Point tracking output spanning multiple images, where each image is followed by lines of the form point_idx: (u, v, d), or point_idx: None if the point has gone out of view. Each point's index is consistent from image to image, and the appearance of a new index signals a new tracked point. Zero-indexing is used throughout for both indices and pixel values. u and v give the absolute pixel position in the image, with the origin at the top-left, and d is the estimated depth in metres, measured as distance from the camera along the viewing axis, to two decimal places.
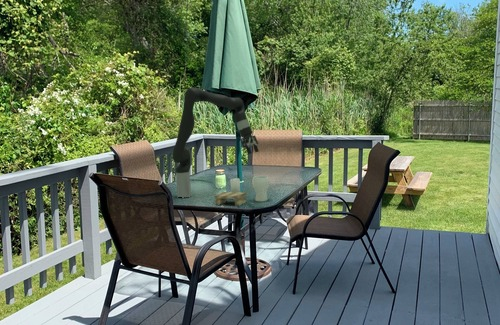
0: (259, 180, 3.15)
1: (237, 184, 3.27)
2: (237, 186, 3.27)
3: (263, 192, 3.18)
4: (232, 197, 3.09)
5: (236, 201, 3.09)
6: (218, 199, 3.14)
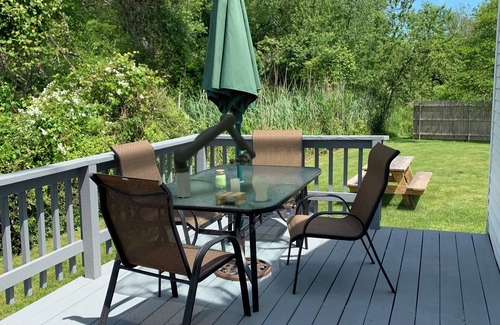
0: (259, 180, 3.15)
1: (237, 184, 3.27)
2: (237, 186, 3.27)
3: (263, 192, 3.18)
4: (232, 197, 3.09)
5: (236, 201, 3.09)
6: (218, 199, 3.14)
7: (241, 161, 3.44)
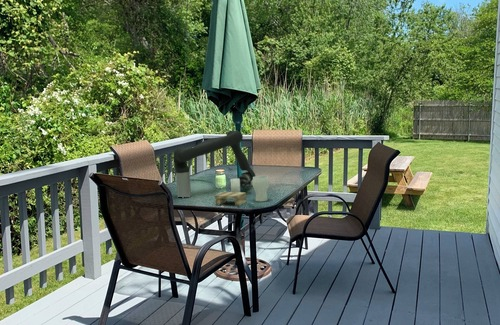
0: (259, 180, 3.15)
1: (237, 184, 3.27)
2: (237, 186, 3.27)
3: (263, 192, 3.18)
4: (232, 197, 3.09)
5: (236, 201, 3.09)
6: (218, 199, 3.14)
7: (241, 183, 3.45)
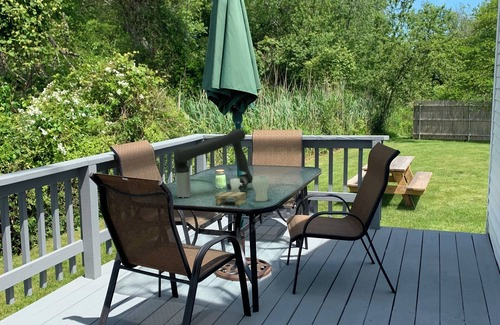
0: (259, 180, 3.15)
1: (237, 184, 3.27)
2: (237, 186, 3.27)
3: (263, 192, 3.18)
4: (232, 197, 3.09)
5: (236, 201, 3.09)
6: (218, 199, 3.14)
7: None
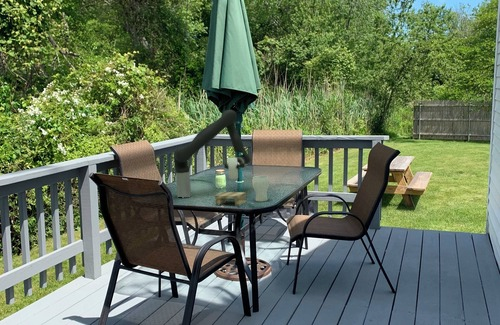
0: (259, 180, 3.15)
1: (234, 163, 3.21)
2: (234, 165, 3.21)
3: (263, 192, 3.18)
4: (232, 197, 3.09)
5: (236, 201, 3.09)
6: (218, 199, 3.14)
7: None
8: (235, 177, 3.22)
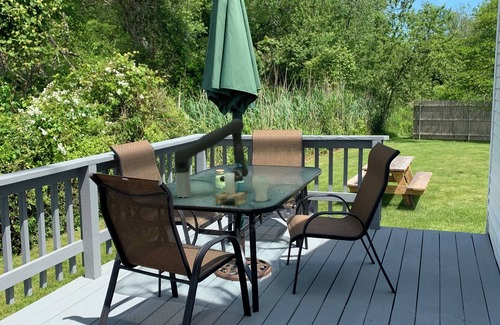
0: (259, 180, 3.15)
1: (231, 178, 3.12)
2: (231, 181, 3.13)
3: (263, 192, 3.18)
4: (232, 197, 3.09)
5: (236, 201, 3.09)
6: (218, 199, 3.14)
7: None
8: (232, 193, 3.14)
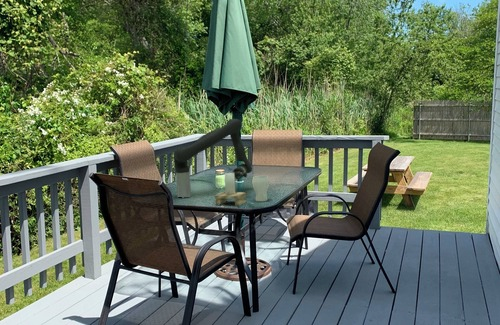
0: (259, 180, 3.15)
1: (232, 178, 3.12)
2: (232, 181, 3.13)
3: (263, 192, 3.18)
4: (232, 197, 3.09)
5: (236, 201, 3.09)
6: (218, 199, 3.14)
7: (237, 175, 3.32)
8: (232, 193, 3.14)
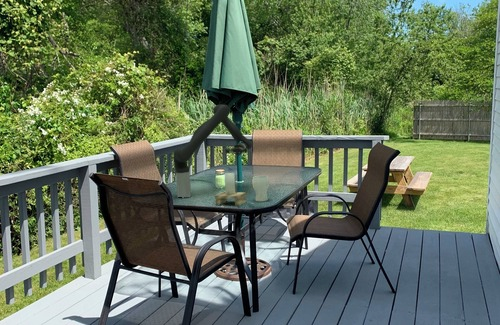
0: (259, 180, 3.15)
1: (231, 178, 3.12)
2: (232, 181, 3.13)
3: (263, 192, 3.18)
4: (232, 197, 3.09)
5: (236, 201, 3.09)
6: (218, 199, 3.14)
7: (237, 150, 3.40)
8: (232, 193, 3.14)
